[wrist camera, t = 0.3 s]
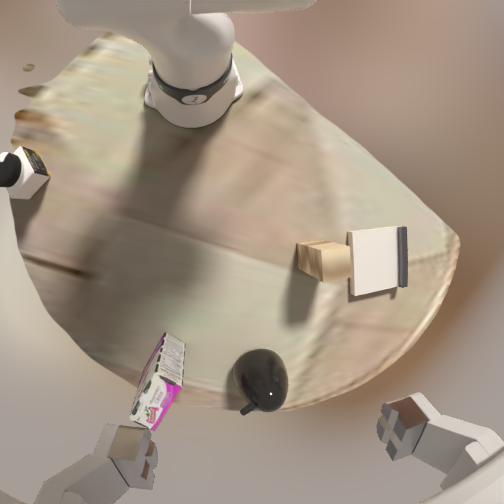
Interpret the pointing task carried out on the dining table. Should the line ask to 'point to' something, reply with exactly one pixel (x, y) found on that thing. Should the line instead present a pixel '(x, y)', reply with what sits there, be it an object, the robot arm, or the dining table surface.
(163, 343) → the candy bar box
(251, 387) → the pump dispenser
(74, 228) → the dining table surface
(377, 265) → the dock
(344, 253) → the oak block
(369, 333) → the dining table surface
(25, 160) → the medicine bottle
